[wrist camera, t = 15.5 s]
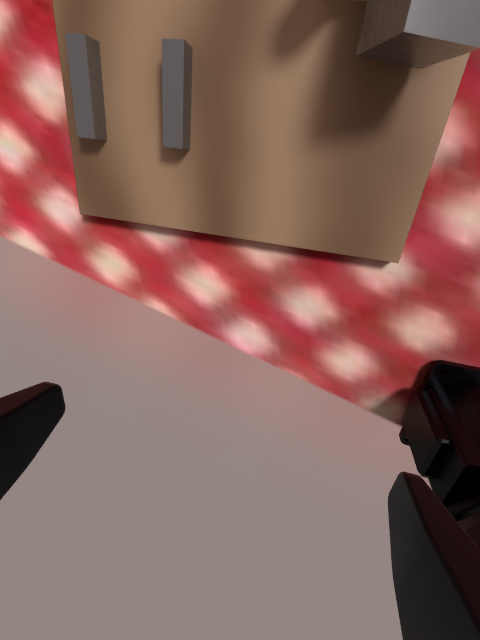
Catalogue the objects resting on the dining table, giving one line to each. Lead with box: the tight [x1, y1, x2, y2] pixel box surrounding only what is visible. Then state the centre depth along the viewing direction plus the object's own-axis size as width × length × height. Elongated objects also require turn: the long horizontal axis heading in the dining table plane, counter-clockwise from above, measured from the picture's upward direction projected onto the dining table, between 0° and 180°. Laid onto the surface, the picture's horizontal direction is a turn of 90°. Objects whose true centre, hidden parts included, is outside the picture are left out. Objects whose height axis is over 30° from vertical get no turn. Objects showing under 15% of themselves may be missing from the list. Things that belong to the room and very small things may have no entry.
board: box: [53, 0, 470, 263], centre depth 14 cm, size 18×18×1 cm
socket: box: [65, 33, 193, 150], centre depth 15 cm, size 6×4×1 cm
